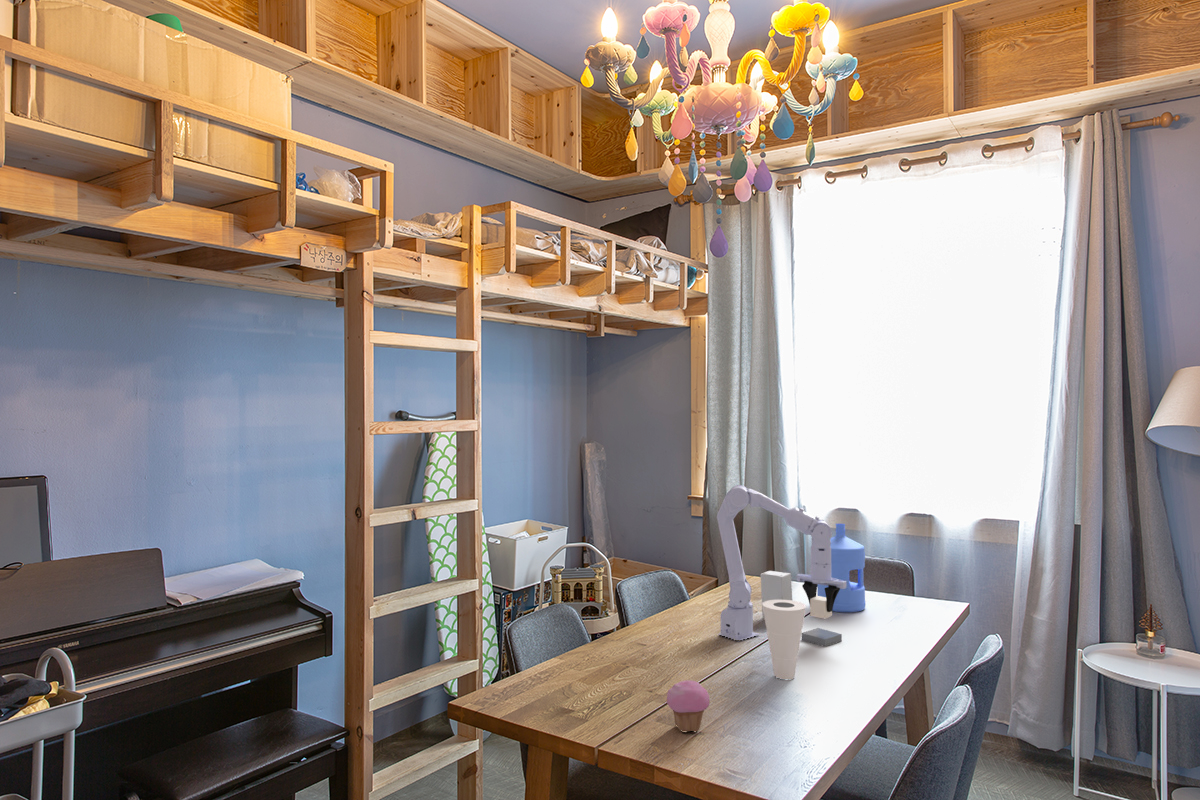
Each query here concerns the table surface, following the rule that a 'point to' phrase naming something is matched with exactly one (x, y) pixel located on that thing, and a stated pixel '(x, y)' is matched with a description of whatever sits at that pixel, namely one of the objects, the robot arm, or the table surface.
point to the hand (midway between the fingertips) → (821, 609)
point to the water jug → (846, 572)
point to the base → (821, 636)
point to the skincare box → (775, 586)
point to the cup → (784, 634)
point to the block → (819, 607)
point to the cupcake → (688, 704)
